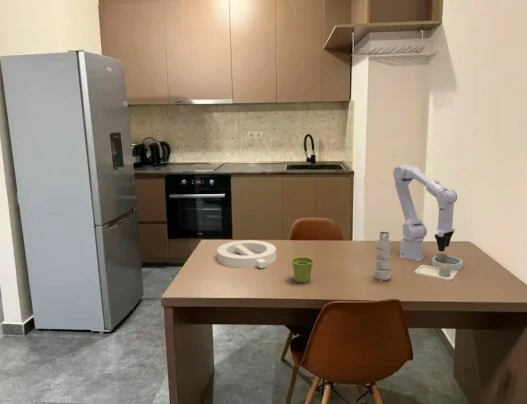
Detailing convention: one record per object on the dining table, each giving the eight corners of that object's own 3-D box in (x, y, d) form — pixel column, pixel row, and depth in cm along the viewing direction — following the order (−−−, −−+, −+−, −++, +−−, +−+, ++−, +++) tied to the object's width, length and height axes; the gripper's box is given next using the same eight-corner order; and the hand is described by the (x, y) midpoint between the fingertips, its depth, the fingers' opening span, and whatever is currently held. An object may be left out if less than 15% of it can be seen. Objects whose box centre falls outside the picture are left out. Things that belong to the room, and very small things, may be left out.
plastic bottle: (391, 277, 184) (393, 231, 180) (390, 283, 177) (392, 235, 173) (375, 275, 186) (376, 230, 182) (373, 281, 179) (375, 234, 175)
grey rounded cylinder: (437, 275, 183) (438, 265, 182) (440, 272, 187) (441, 262, 186) (448, 277, 181) (449, 267, 180) (451, 274, 184) (452, 264, 183)
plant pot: (286, 279, 183) (286, 259, 181) (303, 274, 189) (303, 255, 187) (301, 286, 176) (301, 266, 174) (318, 281, 181) (318, 261, 179)
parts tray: (413, 275, 186) (413, 271, 186) (421, 267, 194) (421, 264, 194) (451, 282, 177) (451, 279, 177) (457, 274, 186) (457, 271, 186)
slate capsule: (434, 265, 196) (435, 255, 195) (437, 262, 199) (438, 252, 198) (445, 267, 193) (445, 257, 192) (447, 264, 197) (448, 254, 196)
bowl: (429, 268, 194) (429, 261, 193) (436, 260, 203) (437, 253, 202) (458, 273, 187) (458, 266, 186) (464, 265, 196) (465, 258, 195)
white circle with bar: (265, 271, 194) (265, 261, 193) (207, 265, 203) (207, 255, 202) (282, 251, 220) (282, 242, 219) (231, 247, 229) (230, 238, 228)
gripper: (451, 223, 180) (449, 254, 183) (459, 216, 192) (457, 245, 195) (433, 220, 184) (431, 251, 187) (442, 214, 196) (440, 243, 199)
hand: (443, 248), depth 191 cm, fingers open, 7 cm apart
